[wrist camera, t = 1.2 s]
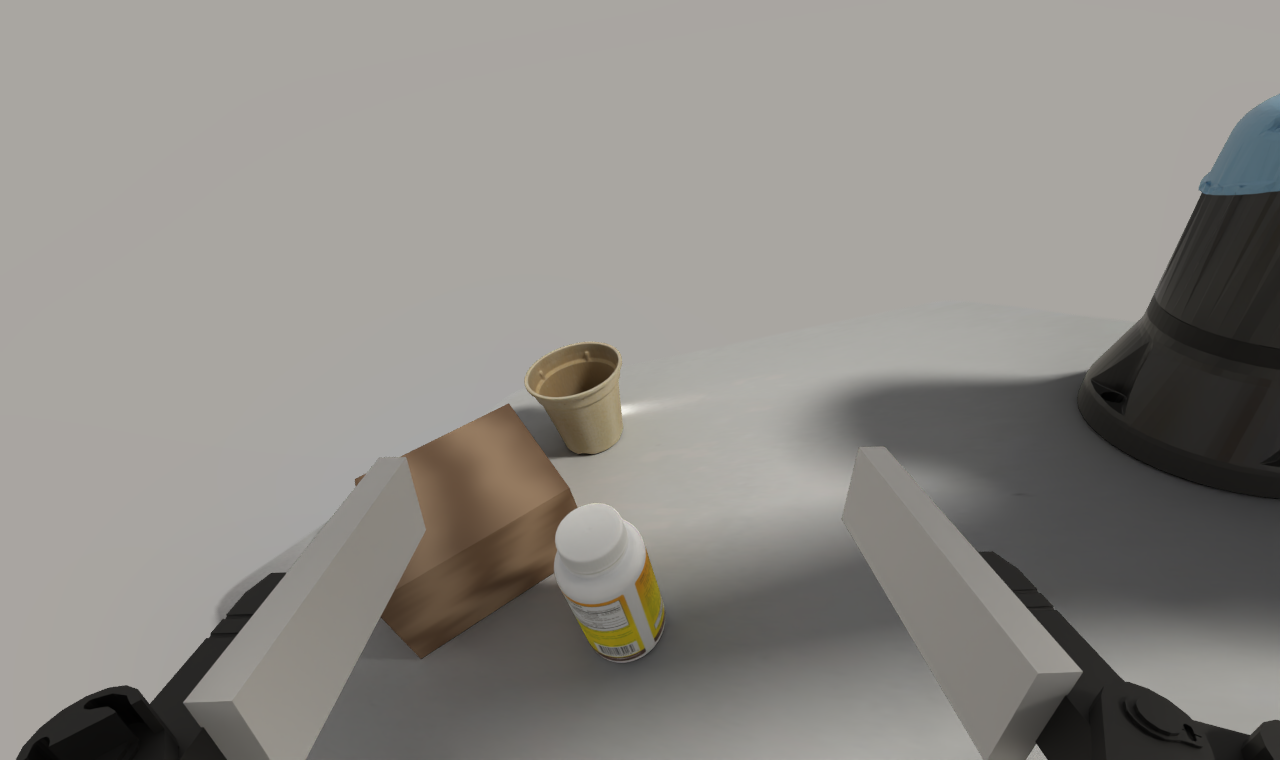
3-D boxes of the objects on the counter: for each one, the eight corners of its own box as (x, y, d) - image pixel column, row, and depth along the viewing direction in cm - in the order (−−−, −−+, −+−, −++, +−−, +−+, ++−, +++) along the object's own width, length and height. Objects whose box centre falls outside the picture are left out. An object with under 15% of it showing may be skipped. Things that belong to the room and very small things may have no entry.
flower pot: (656, 417, 49) (640, 348, 45) (603, 480, 44) (578, 408, 39) (588, 399, 55) (568, 335, 50) (533, 453, 49) (503, 386, 44)
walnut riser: (532, 456, 48) (508, 403, 44) (593, 547, 38) (569, 488, 34) (395, 531, 43) (354, 479, 40) (420, 659, 33) (369, 605, 29)
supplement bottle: (637, 571, 35) (605, 476, 29) (683, 628, 31) (656, 532, 25) (573, 618, 33) (525, 527, 27) (613, 687, 29) (567, 596, 23)
